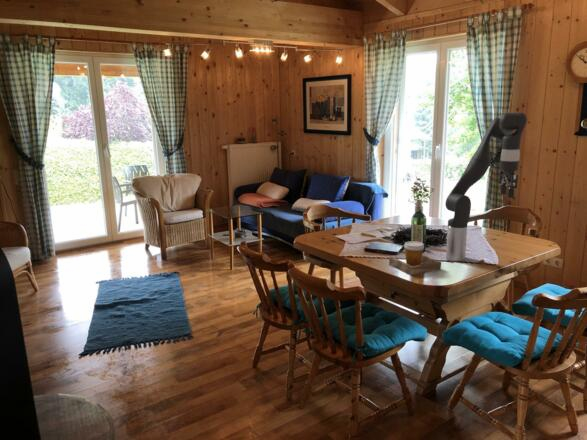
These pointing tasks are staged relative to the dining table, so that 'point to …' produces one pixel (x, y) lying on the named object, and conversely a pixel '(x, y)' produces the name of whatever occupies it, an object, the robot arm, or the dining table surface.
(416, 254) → the amber cup
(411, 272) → the walnut bay
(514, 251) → the dining table surface
